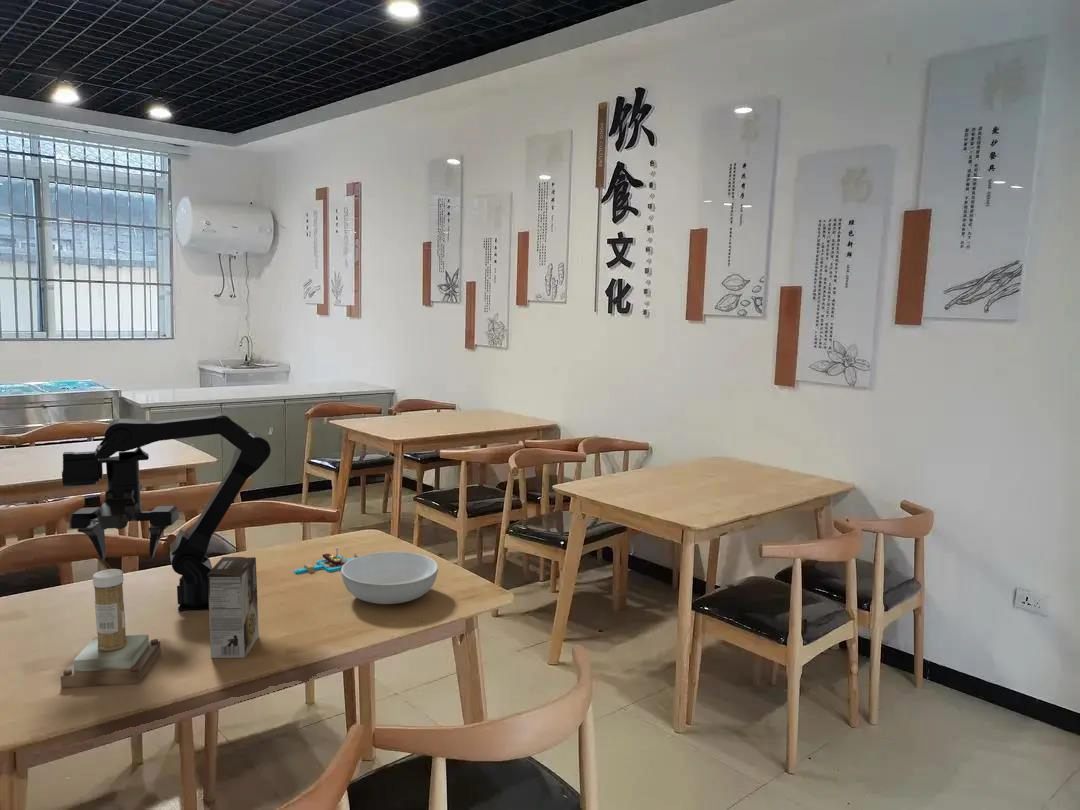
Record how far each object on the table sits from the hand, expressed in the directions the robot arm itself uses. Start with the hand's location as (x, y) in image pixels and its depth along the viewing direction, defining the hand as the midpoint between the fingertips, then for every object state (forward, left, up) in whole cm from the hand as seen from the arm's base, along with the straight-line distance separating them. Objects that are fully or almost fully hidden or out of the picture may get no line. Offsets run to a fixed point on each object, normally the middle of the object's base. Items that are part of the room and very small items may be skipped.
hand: (127, 558), depth 156 cm
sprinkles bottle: (-5, +24, -8) cm, 26 cm away
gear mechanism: (-38, -26, -13) cm, 48 cm away
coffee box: (-24, +18, -12) cm, 32 cm away
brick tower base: (-5, +24, -12) cm, 27 cm away
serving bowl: (-52, -4, -12) cm, 54 cm away
